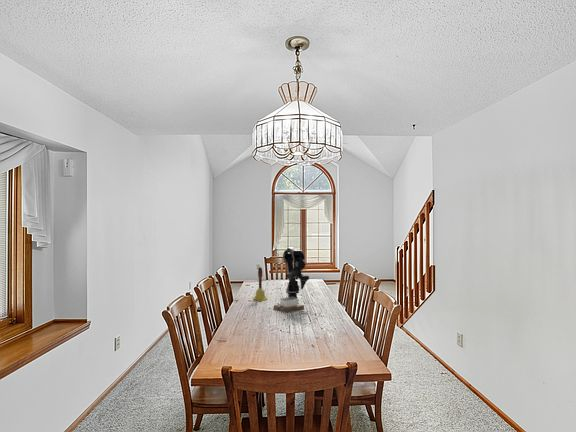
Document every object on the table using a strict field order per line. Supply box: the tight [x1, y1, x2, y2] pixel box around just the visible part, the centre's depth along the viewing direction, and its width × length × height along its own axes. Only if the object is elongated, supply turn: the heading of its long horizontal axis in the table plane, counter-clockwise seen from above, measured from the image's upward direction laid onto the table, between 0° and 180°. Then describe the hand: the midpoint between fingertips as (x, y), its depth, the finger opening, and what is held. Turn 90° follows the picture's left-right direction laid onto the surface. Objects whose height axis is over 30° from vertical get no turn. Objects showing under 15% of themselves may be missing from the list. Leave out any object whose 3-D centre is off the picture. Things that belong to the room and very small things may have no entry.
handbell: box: [252, 266, 269, 302], centre depth 307 cm, size 12×12×25 cm
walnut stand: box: [273, 303, 305, 313], centre depth 274 cm, size 14×16×2 cm
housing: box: [280, 296, 298, 307], centre depth 274 cm, size 10×6×5 cm, turn 126°
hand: (297, 288), depth 287 cm, fingers open, 9 cm apart
